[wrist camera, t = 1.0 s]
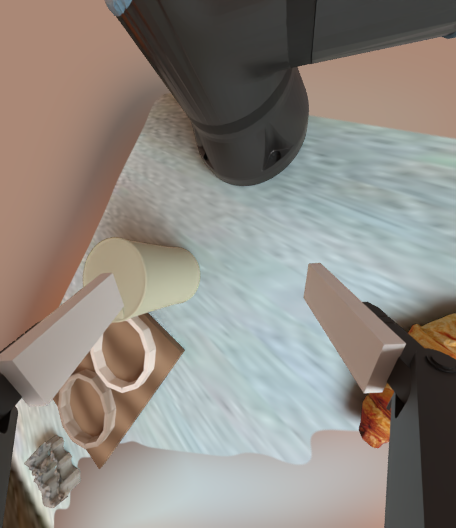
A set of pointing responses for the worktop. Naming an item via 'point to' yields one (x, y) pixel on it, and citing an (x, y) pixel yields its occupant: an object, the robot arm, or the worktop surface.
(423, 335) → the croissant
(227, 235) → the worktop surface
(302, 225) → the worktop surface
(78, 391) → the walnut board
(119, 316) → the can
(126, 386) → the ring
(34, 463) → the egg carton
